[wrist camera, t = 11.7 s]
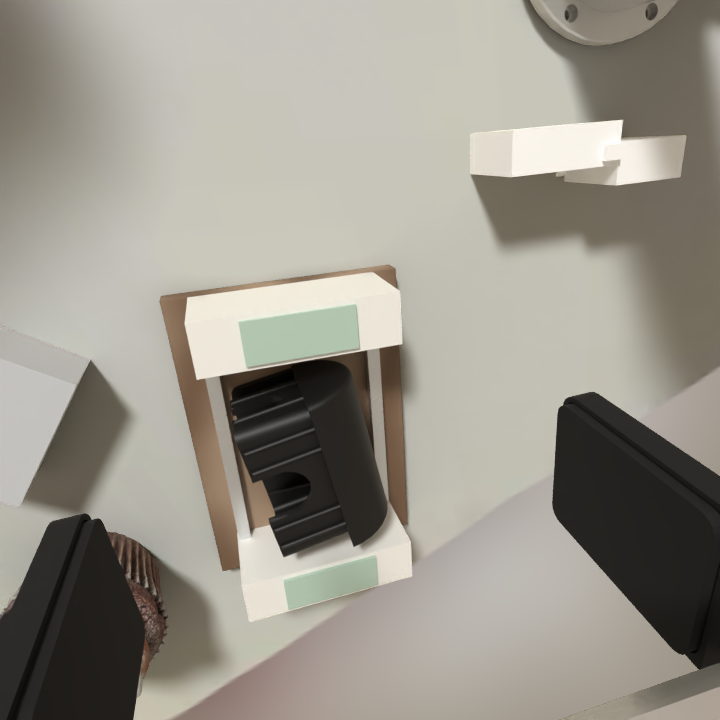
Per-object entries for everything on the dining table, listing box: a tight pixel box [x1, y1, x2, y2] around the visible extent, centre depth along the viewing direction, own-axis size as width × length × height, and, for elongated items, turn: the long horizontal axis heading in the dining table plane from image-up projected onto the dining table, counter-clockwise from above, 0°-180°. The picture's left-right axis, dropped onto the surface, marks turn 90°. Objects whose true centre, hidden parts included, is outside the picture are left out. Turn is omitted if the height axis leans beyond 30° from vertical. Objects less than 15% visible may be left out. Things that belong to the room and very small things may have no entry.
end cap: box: [230, 360, 388, 557], centre depth 31 cm, size 10×7×7 cm
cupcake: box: [0, 532, 168, 698], centre depth 31 cm, size 10×10×10 cm
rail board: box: [160, 265, 407, 571], centre depth 35 cm, size 14×20×1 cm
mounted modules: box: [185, 272, 412, 622], centre depth 32 cm, size 11×20×5 cm, turn 5°
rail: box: [205, 272, 389, 540], centre depth 34 cm, size 11×20×1 cm, turn 5°
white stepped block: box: [470, 120, 687, 185], centre depth 32 cm, size 15×11×6 cm
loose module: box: [0, 325, 90, 507], centre depth 28 cm, size 5×8×4 cm, turn 149°
